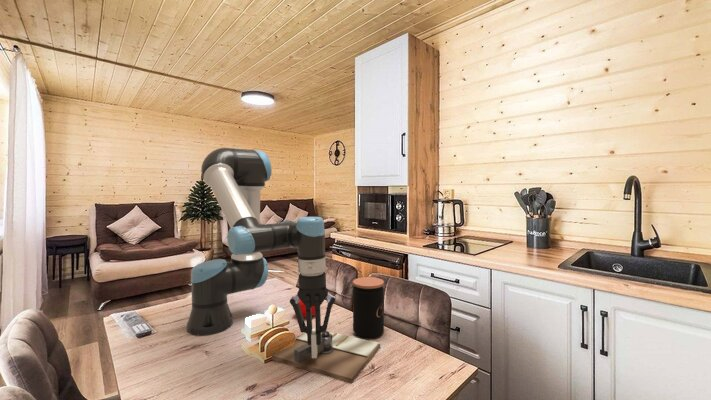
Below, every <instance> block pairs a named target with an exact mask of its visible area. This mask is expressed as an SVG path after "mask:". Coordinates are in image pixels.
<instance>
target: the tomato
mask: <svg viewBox="0 0 711 400" xmlns="http://www.w3.org/2000/svg"><path fill="white" fill-rule="evenodd" d="M299 305H300V308H301V311H302V315H303V318H306V306H305V305H304V304H303V302H302V301H301V300H300V298H299ZM292 309H293V310H294V308H293V307H292ZM313 316H315V306H312V317H313Z"/></svg>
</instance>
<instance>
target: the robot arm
mask: <svg viewBox="0 0 711 400" xmlns="http://www.w3.org/2000/svg"><path fill="white" fill-rule="evenodd" d="M200 172H201V177H202V179H203V181H204V184H206V185H207V186H208V187H210V188H211V191H212V193H213V194H214V196H215V199H216V200H217V203H218V204H219V207H220V208H221V211H222V213H223V215H224V217H225V219H226V222H227V223H228V225H229V227H230V228H229V230H228V232H227V236H226V237H227V238H226V239H227V245H228V246H227V247H228V249H229V251H230V252H231V256H230V261H228V262H227V261H226V259H224V258H223V259H222V258H217V259H211V260H206V261H203V262H200V263H198V264H196V265H195V266H193V268H192V269H191V273H190V275H191V276H190V283H191V287H190V288H191V310H190V314H189V316H188V321H187V322H186V331H187V333H188V334H190V335H194V336H209V335H214V334H218V333H220V332H223V331H225V330H227V329H229V328H231V326H233V322H234V319H233V314H232V312H231V309H230V306H229V304H228V295H230V294H235V293H241V292H245V291H250V290H251V291H252V290H255V289H258V288H261V287H263V286H264V285H265V284H266V282H267V279H268V277H269V266H268V261H267V260H266V258H265V257H263V253H261V252H268V251H276V250H283V249H284V250H285V249H289V248H290V249H291V248H292V249H295V250H296V249H297V264H298V265H297V266H298V267H297V269H298V273H299V274H298V291H297V294H296V295H294V296H292V297H290V300H289V303H290V305H291V307H292V309H293V308H294V309H293V311H294V314H295V317H296V320H297V324H298V328H299V330H300V331H299V332H301V333H302V334H303V333H306V334H307V342H308V345H311V347H312V358H317V353H318V351H317V345H320V343H321V333H322V332H326V331H328V329H327V328H328V325H329V319H330V315H331V311H332V307H333V305H334V304H335V302H336V295H335V294H333V295H332V294H330V293H329V290H328V288H327V273H326V270H327V268H326V267H327V266H326V265H327V264H326V229H325V221H324V219H323V217H320V216H302V217H299V218H298V219H297V220H296V221H291V220H287V221H281V222H277V223H266V224H265V223H264V224H263V223H262V224H261V223H260V219H261V218H260V217H261V193H262V190H263V189H264V188H265V187H266V182H267V181H269V180H270V179H271V176H272V164H271V159H270V158H269V156H268V155H267V153H266V152H264V151H262V150H258V149H256V150H255V149H247V148H234V147H233V148H231V147H221V148H216V149H215V150H212V151H211V152H210V153H209V154H207V156H206V157H205V158H204V159H203V161H202V164H201V170H200ZM299 298H300V300H301V301H302V302H303V304H304V305H305V306H306V317H303V315H302V311H301V308H300V305H299ZM325 299H326V302H327V306H326V310H325V314H324V319H323V323H321V322H322V319H321V318H322V317H321V306H322V304H323V303H324V301H325ZM312 306H315V315H314V316H315V317H314V319H315V320H314V321H315V322H314V323H315V329H316V331H312V328H313V316H312ZM304 318H305V319H306V320H305V319H304ZM305 321H306V322H305Z"/></svg>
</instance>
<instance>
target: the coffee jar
mask: <svg viewBox="0 0 711 400" xmlns="http://www.w3.org/2000/svg"><path fill="white" fill-rule="evenodd" d="M352 285H353V288H352V314H353V315H352V327H353V328H352V330H353V333H354V334H355V336H356V337H357V338H360V339H364V340H375V339H378V338H380V337H381V336H382V334H383V333H384V331H385V290H384V285H385V281H384V280H383V279H382V278H378V277H374V276H373V277H372V276H366V277H365V276H364V277H358V278H355V279H354V280H352Z"/></svg>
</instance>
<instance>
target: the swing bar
mask: <svg viewBox="0 0 711 400" xmlns="http://www.w3.org/2000/svg"><path fill="white" fill-rule="evenodd" d="M329 332H330V331H328V330H326V332H322V334H321V343H320V345H317V351H318V353H320V352H322V351H328V350H331V349H332V334H329ZM318 353H317V354H318ZM310 357H312V347H311V345H308V343H307V344H305V345H303V346H301V347H299V348H297V349H294V361H295V362H297V363H301V362H303V361H305V360H306V359H308V358H310Z"/></svg>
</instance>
